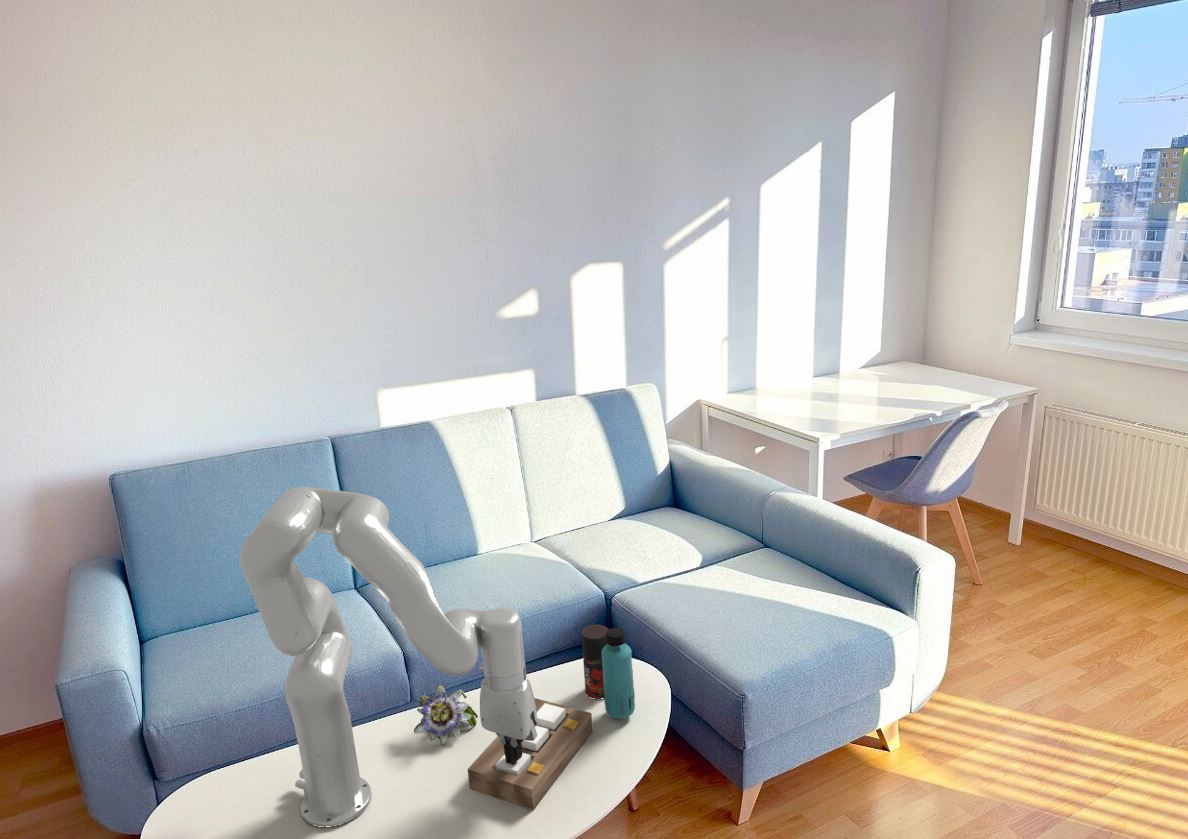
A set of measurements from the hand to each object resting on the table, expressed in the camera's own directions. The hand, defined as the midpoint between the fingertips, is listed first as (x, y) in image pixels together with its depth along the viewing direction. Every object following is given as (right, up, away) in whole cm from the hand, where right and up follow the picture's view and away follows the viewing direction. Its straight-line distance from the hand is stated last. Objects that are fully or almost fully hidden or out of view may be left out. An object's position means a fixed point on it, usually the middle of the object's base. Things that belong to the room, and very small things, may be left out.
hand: (514, 759), depth 157 cm
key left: (0, -2, +1) cm, 2 cm away
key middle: (+3, +1, +6) cm, 7 cm away
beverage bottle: (+21, +1, +19) cm, 28 cm away
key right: (+6, +3, +12) cm, 14 cm away
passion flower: (-16, -1, +18) cm, 24 cm away
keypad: (+3, -3, +7) cm, 9 cm away
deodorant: (+16, +4, +28) cm, 32 cm away
